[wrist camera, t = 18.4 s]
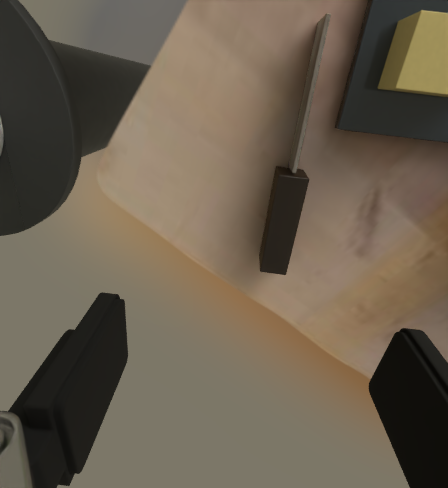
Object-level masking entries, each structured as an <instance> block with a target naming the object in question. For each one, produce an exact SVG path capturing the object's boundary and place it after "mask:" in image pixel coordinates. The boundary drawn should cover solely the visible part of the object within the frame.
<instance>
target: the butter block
mask: <svg viewBox="0 0 448 488" xmlns="http://www.w3.org/2000/svg"><path fill="white" fill-rule="evenodd" d="M378 89H383V90H391V91H400V92H408V93H416V94H425V95H433V96H442V97H448V13H442V12H433V11H424V10H421V11H419V12H417V13H415V14H413V15H411V16H408V17H406V18H404V19H402V20H400V21H398V24H397V27H396V30H395V34H394V37H393V40H392V43H391V47H390V50H389V53H388V56H387V59H386V63H385V66H384V69H383V72H382V76H381V79H380V82H379V85H378Z"/></svg>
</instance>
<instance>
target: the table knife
mask: <svg viewBox="0 0 448 488" xmlns="http://www.w3.org/2000/svg"><path fill="white" fill-rule="evenodd" d="M330 16H331V14H326V15H325V16H324V17H323V18H322V19H321V20H320V21H319V22H318V24H317V29H316V34H315V39H314V44H313V48H312V53H311V58H310V63H309V68H308V73H307V78H306V82H305V87H304V92H303V97H302V102H301V107H300V112H299V116H298V121H297V126H296V131H295V136H294V141H293V146H292V150H291V155H290V160H289V167H290V168H285V167H276V168H275V174H274V179H273V184H272V190H271V195H270V200H269V206H268V211H267V217H266V222H265V227H264V233H263V238H262V243H261V249H260V254H259V260H260V271H261V272H267V273H275V274H282V275H286V273H287V268H288V264H289V260H290V256H291V252H292V248H293V244H294V240H295V236H296V232H297V228H298V223H299V219H300V215H301V211H302V207H303V203H304V199H305V195H306V191H307V187H308V182H309V178H308V176H307V175H306V173H305V172H304V170H301V169H297V166H298V161H299V157H300V152H301V148H302V143H303V139H304V134H305V130H306V125H307V121H308V116H309V112H310V107H311V102H312V98H313V93H314V89H315V84H316V80H317V75H318V71H319V66H320V62H321V57H322V53H323V48H324V44H325V39H326V34H327V30H328V25H329V21H330Z"/></svg>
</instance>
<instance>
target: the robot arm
mask: <svg viewBox="0 0 448 488" xmlns="http://www.w3.org/2000/svg"><path fill="white" fill-rule="evenodd" d="M2 148H3V127H2V122H1V117H0V156H1V153H2ZM125 318H126V317H125V302H124V300H123V299H120V297H119V295H118V294H110V293H100V294H99V295H98V297H97V298H96V300H95V301H94V303H93V304H92V305H91V307H90V308H89V310H88V311H87V313H86V314H85V316H84V317H83V319H82V320H81V322H80V323H79V324H78V326H77V327H76V329H75V330H68V331H66V332H65V333H64V334H63V336H62V337H61V338H60V340H59V341H58V343H57V344H56V345H55V347H54V348H53V350H52V351H51V352H50V354H49V355H48V356H47V358H46V359H45V361H44V362H43V364H42V365H41V366H40V368H39V369H38V370H37V372H36V373H35V375H34V376H33V378H32V379H31V380H30V381H29V383H28V385H27V386H26V387H25V388H24V390H23V391H22V393H21V394H20V395H19V397H18V398H17V400H16V401H15V402H14V404H13V405H12V407H11V408H10V410H9V411H8V412H7V411H0V488H57V485H66V486H69V485H70V483H71V481H72V478H73V476H74V474H75V473H77V474H79V473H80V472H81V471H82V469H83V467H84V465H85V463H86V460H87V458H88V455H89V453H90V451H91V448H92V446H93V443H94V441H95V438H96V436H97V434H98V431H99V429H100V426H101V424H102V421H103V419H104V416H105V414H106V412H107V409H108V407H109V405H110V402H111V400H112V397H113V395H114V392H115V390H116V387H117V385H118V383H119V380H120V378H121V375H122V373H123V370H124V368H125V365H126V363H127V358H128V348H127V332H126V319H125ZM369 392H370V395H371V397H372V400H373V402H374V404H375V407H376V409H377V411H378V413H379V416H380V419H381V421H382V423H383V425H384V428H385V430H386V433H387V435H388V437H389V439H390V442H391V444H392V447H393V449H394V451H395V454H396V456H397V458H398V461H399V463H400V466H401V468H402V470H403V473H404V475H405V477H406V479H407V482H408V484H409V487H410V488H448V363H447V361H446V360H445V359H444V358H443V356H442V355H441V354H440V352H439V351H438V350H437V348H436V347H435V346H434V344H433V343H432V342H431V340H430V339H429V338H428V336H427V335H426V334H425V333H424V332H423V331H421V330H415V329H407V328H403V329H401V330H400V331H399V332H396V333H395V334H394V336H393V338H392V340H391V342H390V344H389V346H388V348H387V350H386V351H385V353H384V355H383V357H382V359H381V361H380V363H379V365H378V367H377V369H376V371H375V373H374V375H373V376H372V378H371V380H370V383H369Z"/></svg>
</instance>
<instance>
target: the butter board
mask: <svg viewBox="0 0 448 488" xmlns="http://www.w3.org/2000/svg"><path fill="white" fill-rule="evenodd" d="M421 10H424V11H433V12H442V13H448V0H368V4H367V8H366V11H365V15H364V19H363V23H362V27H361V30H360V34H359V38H358V42H357V45H356V49H355V53H354V57H353V61H352V64H351V68H350V72H349V76H348V79H347V83H346V87H345V91H344V95H343V98H342V102H341V106H340V110H339V113H338V117H337V121H336V125H335V128H336V129H339V130H348V131H356V132H364V133H372V134H380V135H389V136H397V137H405V138H413V139H421V140H429V141H438V142H446V143H448V97H442V96H433V95H425V94H416V93H408V92H400V91H391V90H383V89H378V85H379V82H380V79H381V76H382V72H383V69H384V66H385V63H386V59H387V56H388V53H389V50H390V47H391V43H392V40H393V37H394V34H395V30H396V27H397V24H398V21H400V20H402V19H404V18H406V17H408V16H411V15H413V14H415V13H417V12H419V11H421Z"/></svg>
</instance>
